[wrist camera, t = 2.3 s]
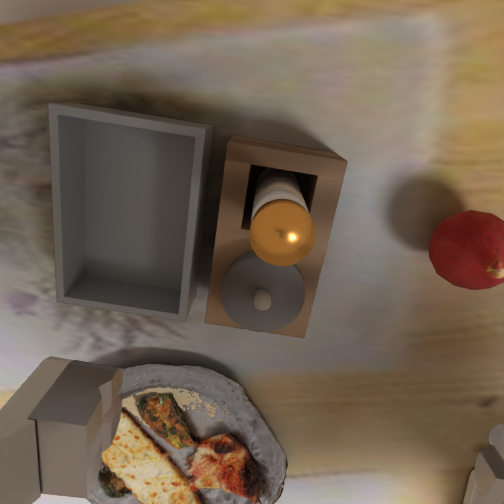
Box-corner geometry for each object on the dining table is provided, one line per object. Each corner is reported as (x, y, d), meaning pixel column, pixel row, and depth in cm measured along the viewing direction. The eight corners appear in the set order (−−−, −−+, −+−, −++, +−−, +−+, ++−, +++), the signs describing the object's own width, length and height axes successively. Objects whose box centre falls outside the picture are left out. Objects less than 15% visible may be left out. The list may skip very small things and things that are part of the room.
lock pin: (293, 211, 31) (307, 270, 20) (252, 204, 31) (245, 260, 20) (301, 170, 30) (321, 210, 19) (259, 163, 30) (254, 199, 19)
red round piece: (497, 207, 31) (571, 241, 23) (469, 270, 33) (528, 320, 25) (428, 194, 30) (480, 223, 23) (404, 258, 33) (445, 304, 25)
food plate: (318, 488, 43) (321, 520, 40) (151, 541, 48) (142, 573, 45) (207, 317, 36) (200, 338, 33) (25, 400, 41) (4, 425, 38)
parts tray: (195, 295, 35) (185, 321, 30) (82, 277, 34) (56, 302, 30) (214, 125, 29) (205, 129, 25) (79, 103, 29) (48, 103, 25)
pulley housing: (299, 306, 35) (307, 358, 28) (213, 293, 34) (199, 342, 27) (334, 152, 29) (356, 167, 22) (233, 135, 29) (223, 145, 22)
